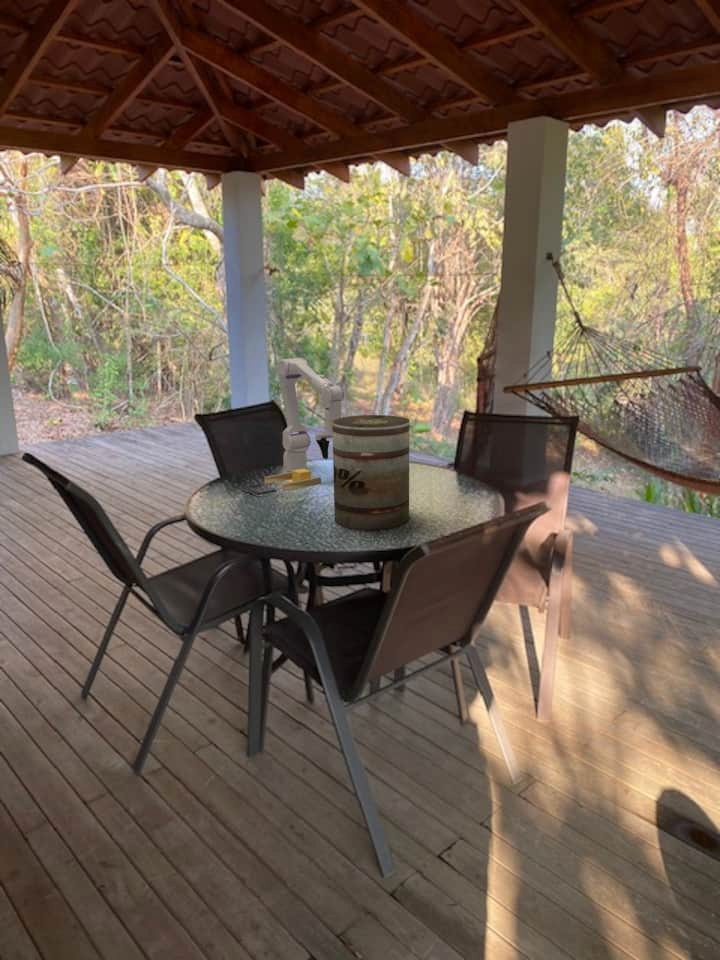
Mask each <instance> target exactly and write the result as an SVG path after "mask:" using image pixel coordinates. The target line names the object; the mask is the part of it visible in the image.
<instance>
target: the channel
mask: <svg viewBox="0 0 720 960" xmlns="http://www.w3.org/2000/svg"><path fill="white" fill-rule="evenodd" d="M263 480H264V484H265V485H266V484H273V483H277V482H282V481H285V482H286V483H283V491H285V492H286V491H293V490H296V489H297V490H298V489H301V488H306V487H313V486H316V485H321V484H322V478H321V477H320V476H317V477H311V479H306V480H301V481H296V482H293V481H292V472H285V473H280V474H279V473H278V474H274V475H268V476H264V479H263Z"/></svg>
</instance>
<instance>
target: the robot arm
mask: <svg viewBox="0 0 720 960" xmlns="http://www.w3.org/2000/svg"><path fill="white" fill-rule="evenodd" d="M276 369H277V374H278V381H279V382H280V387H281V394H282V400H283V405H284V407H283V408H284V413H285V418H286V419H285V420H286V423H287V424H286V425H287V427H285V428H284V430H283V431H282V441H281V442H282V447H283V448H284V452H283V460H282V461H283V471H287V473H289V472H292V471H293V470H298V469H307V470H308V463H307V462H308V459H307V457H308V456H307V451H308V450H309V447H310V446H311V440H312V439H311V437H310V434H309V432H308V428H307V427H305V426H304V425H303V424H302V421H301V415H300V407H299V402H298V396H297V395H298V394H297V390H296V384H297V381H299V380H300V379H301V378H302V377H303V378H304V379H306V380H308V381H309V382H310V383H311V387H312V389H314V390H315V392H317V393H319V395H320V397H321V400H322V404H323V407H324V418H325V419H324V422H325V423H324V424H325V427H324V428H325V431H324V432H319V433H316V434H315V437H314V438H315V441H316V444H318V447H319V449H320V452H321V456H322V458H323V459H324V460H329V459H328V458H329V446H330V440H328V439H333V434H332V421H333V420H335V419H338V418H342V401H343V400H344V398H345V391H344V388H343V387H342V386H341V384H333V382H332V381H330V380H329V379H327V378H326V375H324V374H317V373H316V372H315V370H313V369H312V368H311V367H310V366H309V364H308V361H307V360H306V359H305V358H304V357H296V358H295V357H294V358H281V359H279V361H278V363H277V366H276Z"/></svg>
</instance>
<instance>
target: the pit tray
mask: <svg viewBox="0 0 720 960" xmlns="http://www.w3.org/2000/svg"><path fill="white" fill-rule="evenodd" d="M260 485H261V483H255V484H249V485H246V486H241V487H242V488H244V489H246V490H248V491H251V492H253V493H255V494H257V495H260V494H263V495H266V494H270V493H275V492H276V488H275V489H274V488H273V489H269V490H264V491H263V490H262V491H256V490H254V489H252V488H255V487H254V486H257V487H261V486H262V485H261V486H260ZM248 487H252V488H248ZM242 488H241V489H242Z"/></svg>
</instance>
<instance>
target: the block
mask: <svg viewBox="0 0 720 960" xmlns="http://www.w3.org/2000/svg"><path fill="white" fill-rule="evenodd" d="M311 478H312V470H310V469H308V468H307V469H298V470H293V471H292V481H293V482H296V481H301V480H306V479H311Z"/></svg>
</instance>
